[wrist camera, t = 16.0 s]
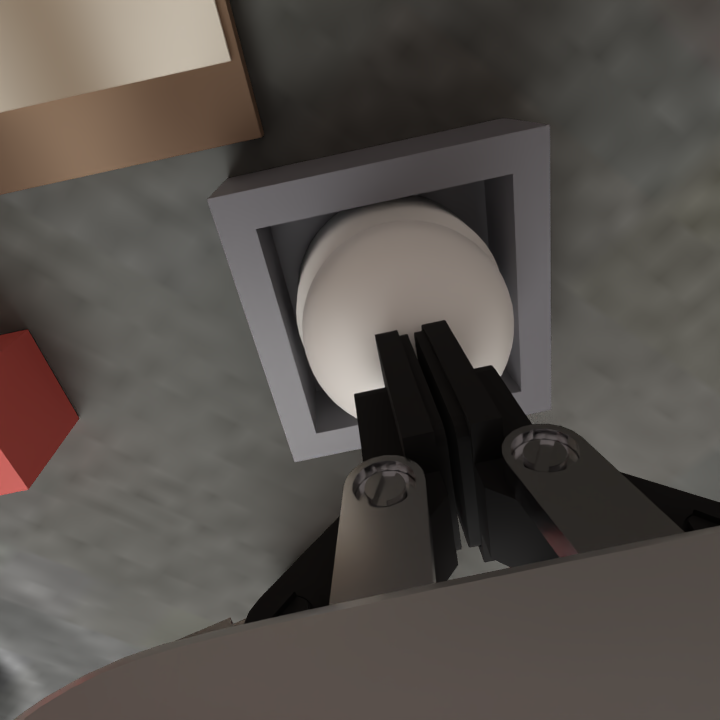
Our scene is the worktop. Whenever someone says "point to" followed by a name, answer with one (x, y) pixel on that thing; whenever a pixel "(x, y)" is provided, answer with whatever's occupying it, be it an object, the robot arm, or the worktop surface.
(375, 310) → the dome button
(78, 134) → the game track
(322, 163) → the button housing
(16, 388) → the red die
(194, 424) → the worktop surface
